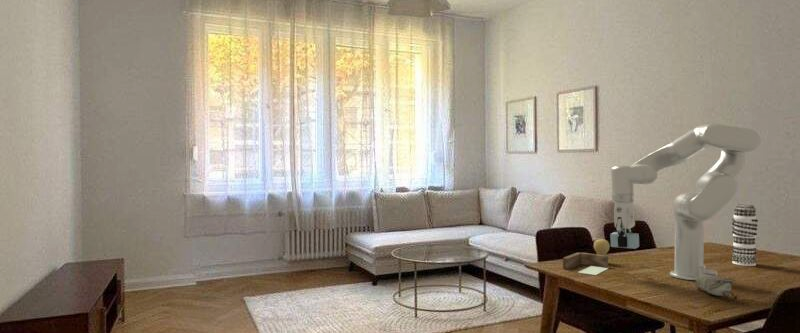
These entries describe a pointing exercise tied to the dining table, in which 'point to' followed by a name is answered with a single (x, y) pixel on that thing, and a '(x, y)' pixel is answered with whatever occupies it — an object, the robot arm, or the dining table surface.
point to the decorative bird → (715, 285)
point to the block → (631, 240)
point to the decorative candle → (744, 235)
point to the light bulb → (601, 246)
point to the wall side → (594, 259)
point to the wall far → (572, 261)
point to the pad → (593, 270)
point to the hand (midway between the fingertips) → (624, 245)
